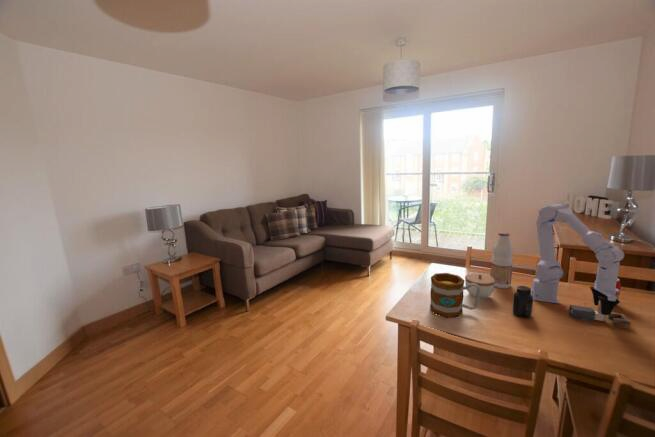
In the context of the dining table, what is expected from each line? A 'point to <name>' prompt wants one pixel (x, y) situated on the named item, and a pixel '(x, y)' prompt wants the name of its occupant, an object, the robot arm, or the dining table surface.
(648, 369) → the dining table surface
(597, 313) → the sliding bolt
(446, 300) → the mug
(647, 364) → the dining table surface
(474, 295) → the lidded bowl
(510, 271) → the fruit juice
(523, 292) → the supplement bottle
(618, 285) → the soda can
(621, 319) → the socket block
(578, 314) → the sleeve
